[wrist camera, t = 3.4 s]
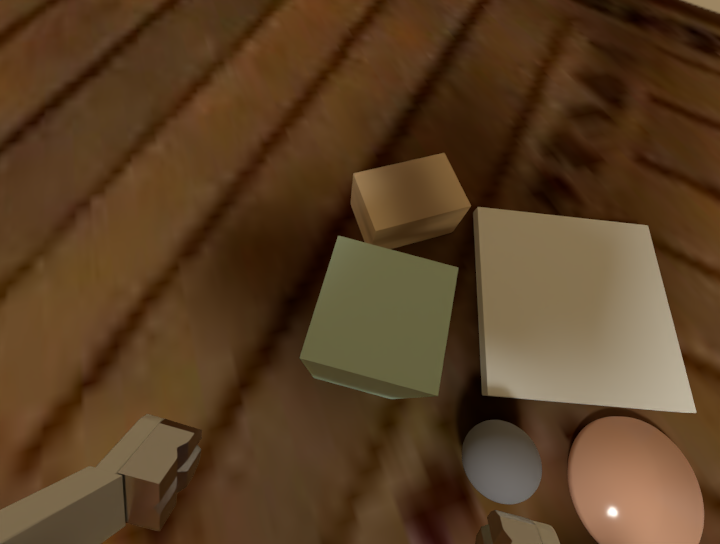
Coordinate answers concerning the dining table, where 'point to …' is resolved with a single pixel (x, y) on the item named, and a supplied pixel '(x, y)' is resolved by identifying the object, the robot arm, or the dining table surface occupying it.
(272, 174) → the dining table surface
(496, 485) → the rubber ball
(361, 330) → the sage block
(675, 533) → the peach flat disc
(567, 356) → the beige mat
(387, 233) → the oak block
